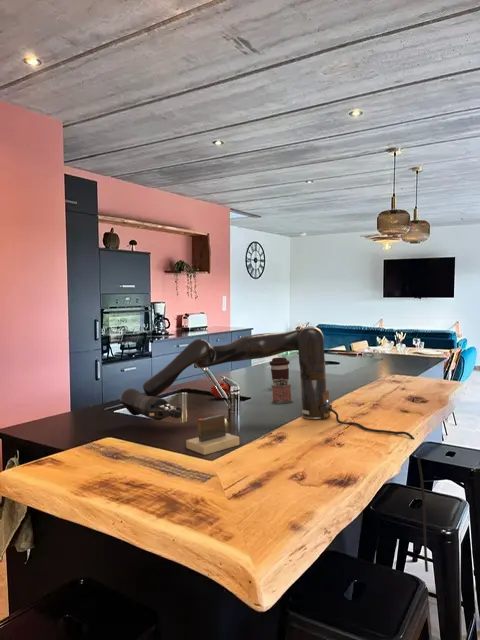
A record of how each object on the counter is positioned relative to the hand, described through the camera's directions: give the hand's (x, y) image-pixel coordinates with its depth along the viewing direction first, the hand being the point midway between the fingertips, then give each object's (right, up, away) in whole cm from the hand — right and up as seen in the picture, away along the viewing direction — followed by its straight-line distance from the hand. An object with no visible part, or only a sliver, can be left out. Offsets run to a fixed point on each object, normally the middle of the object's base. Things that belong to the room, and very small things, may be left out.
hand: (178, 414), depth 156 cm
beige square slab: (+11, -8, -8) cm, 16 cm away
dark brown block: (+11, -6, -8) cm, 15 cm away
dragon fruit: (+12, -6, +68) cm, 69 cm away
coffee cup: (+40, -4, +85) cm, 94 cm away
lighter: (+38, -5, +51) cm, 64 cm away
